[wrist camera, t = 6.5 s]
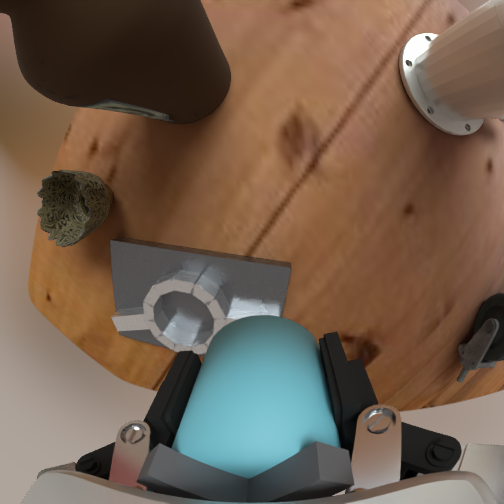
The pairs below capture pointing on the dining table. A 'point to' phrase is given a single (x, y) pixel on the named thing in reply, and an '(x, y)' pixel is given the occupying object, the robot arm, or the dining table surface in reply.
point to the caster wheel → (485, 338)
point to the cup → (73, 205)
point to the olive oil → (122, 55)
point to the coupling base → (189, 292)
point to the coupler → (255, 422)
